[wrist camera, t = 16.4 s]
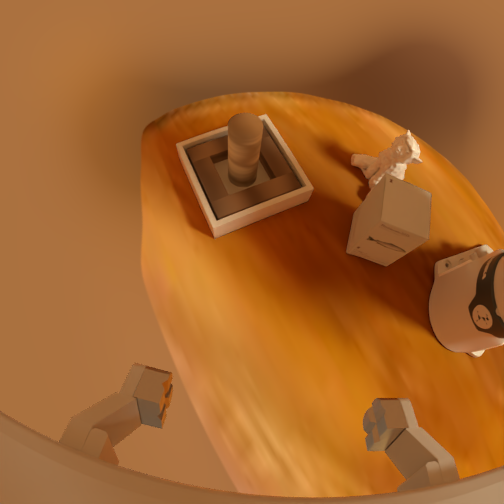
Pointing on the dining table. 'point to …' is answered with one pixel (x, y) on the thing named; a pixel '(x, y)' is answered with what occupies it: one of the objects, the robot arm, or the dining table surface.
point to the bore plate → (228, 204)
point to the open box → (253, 212)
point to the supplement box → (390, 221)
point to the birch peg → (244, 148)
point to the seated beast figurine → (388, 160)
